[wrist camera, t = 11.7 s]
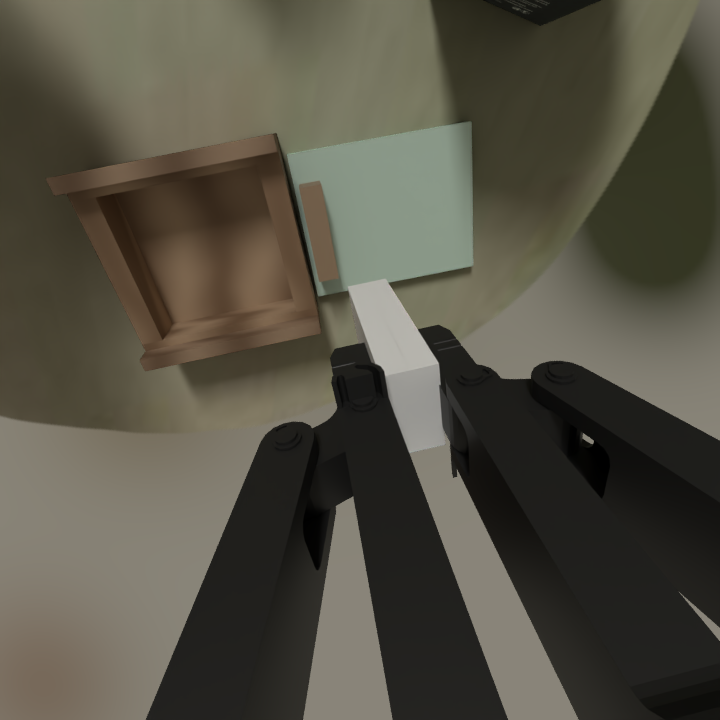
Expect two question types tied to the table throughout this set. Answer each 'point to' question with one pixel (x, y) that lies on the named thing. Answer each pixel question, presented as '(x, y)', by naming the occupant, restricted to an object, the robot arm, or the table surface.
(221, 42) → the table surface
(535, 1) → the tampon box
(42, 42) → the table surface
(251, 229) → the box
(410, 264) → the cover plate
